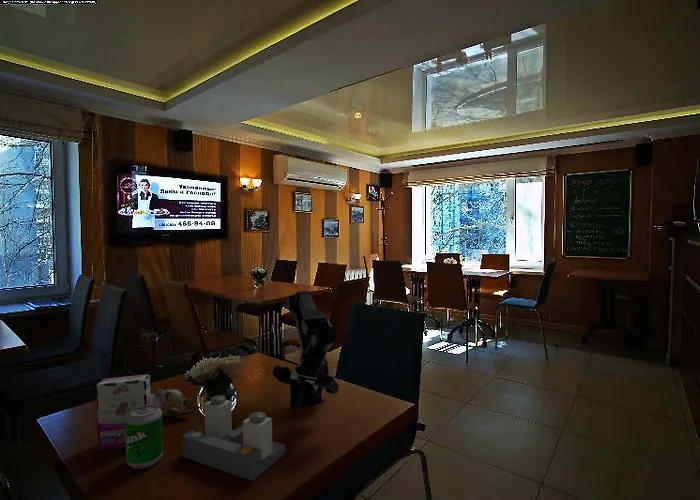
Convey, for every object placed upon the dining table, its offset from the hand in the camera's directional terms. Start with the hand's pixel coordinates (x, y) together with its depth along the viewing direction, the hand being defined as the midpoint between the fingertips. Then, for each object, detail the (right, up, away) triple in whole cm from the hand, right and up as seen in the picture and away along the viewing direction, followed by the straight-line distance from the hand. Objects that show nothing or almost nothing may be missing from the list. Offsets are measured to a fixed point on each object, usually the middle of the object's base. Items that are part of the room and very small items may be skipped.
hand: (292, 410), depth 102 cm
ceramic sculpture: (-38, -7, +13) cm, 41 cm away
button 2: (-6, -5, -12) cm, 15 cm away
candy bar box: (-41, -7, -3) cm, 42 cm away
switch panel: (-12, -7, -8) cm, 17 cm away
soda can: (-32, -8, -11) cm, 35 cm away
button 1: (-18, -5, -3) cm, 19 cm away
